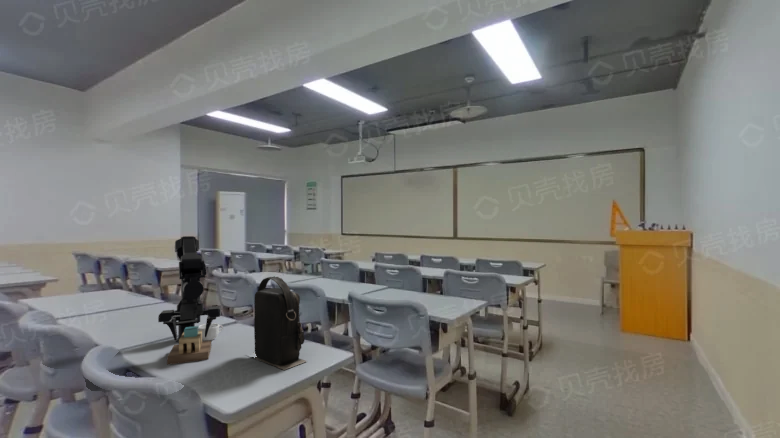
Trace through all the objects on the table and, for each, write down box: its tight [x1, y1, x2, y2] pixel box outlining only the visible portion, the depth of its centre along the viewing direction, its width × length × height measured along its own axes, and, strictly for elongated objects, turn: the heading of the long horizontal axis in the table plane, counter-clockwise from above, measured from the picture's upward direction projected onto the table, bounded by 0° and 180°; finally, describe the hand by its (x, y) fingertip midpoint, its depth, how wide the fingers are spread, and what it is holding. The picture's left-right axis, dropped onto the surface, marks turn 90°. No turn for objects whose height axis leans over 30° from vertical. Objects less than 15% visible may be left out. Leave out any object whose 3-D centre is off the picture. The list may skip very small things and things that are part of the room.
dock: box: [166, 340, 212, 365], centre depth 125 cm, size 13×12×2 cm
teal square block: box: [184, 325, 200, 338], centre depth 126 cm, size 4×4×2 cm
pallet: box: [178, 331, 203, 354], centre depth 126 cm, size 10×6×4 cm, turn 22°
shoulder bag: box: [253, 276, 308, 371], centre depth 123 cm, size 23×9×28 cm, turn 53°
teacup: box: [198, 322, 224, 342], centre depth 144 cm, size 10×8×5 cm
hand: (190, 338), depth 125 cm, fingers open, 9 cm apart
